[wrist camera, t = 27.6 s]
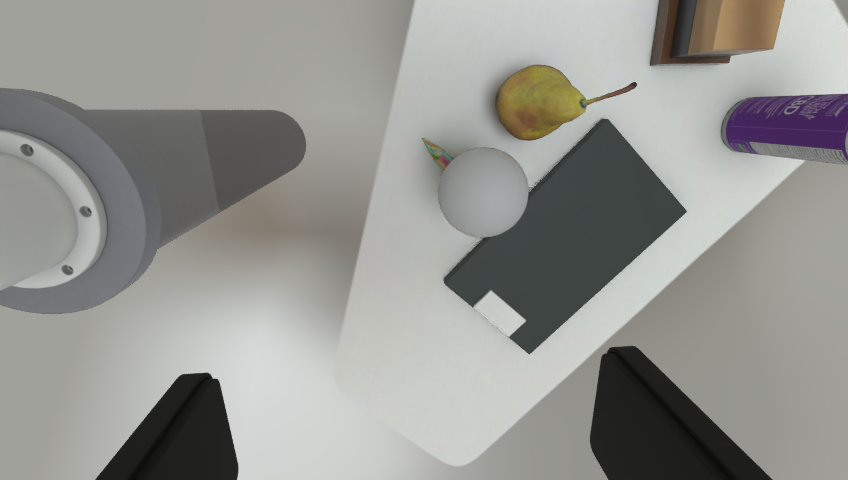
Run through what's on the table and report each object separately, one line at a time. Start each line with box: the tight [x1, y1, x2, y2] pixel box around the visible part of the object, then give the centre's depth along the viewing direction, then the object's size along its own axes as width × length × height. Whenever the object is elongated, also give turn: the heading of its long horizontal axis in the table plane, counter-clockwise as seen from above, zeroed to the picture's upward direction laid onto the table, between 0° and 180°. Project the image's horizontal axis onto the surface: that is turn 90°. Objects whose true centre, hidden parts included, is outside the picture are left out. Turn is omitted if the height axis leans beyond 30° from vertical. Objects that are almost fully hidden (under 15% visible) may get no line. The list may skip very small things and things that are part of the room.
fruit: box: [496, 65, 637, 140], centre depth 27 cm, size 6×6×12 cm
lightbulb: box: [438, 147, 529, 238], centre depth 29 cm, size 6×6×11 cm
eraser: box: [670, 0, 785, 58], centre depth 28 cm, size 4×7×4 cm, turn 1°
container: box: [722, 94, 848, 165], centre depth 28 cm, size 5×5×15 cm
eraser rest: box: [650, 0, 731, 66], centre depth 31 cm, size 6×8×1 cm
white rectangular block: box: [473, 289, 526, 337], centre depth 38 cm, size 2×5×1 cm, turn 47°
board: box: [444, 119, 687, 354], centre depth 37 cm, size 20×12×1 cm, turn 137°
